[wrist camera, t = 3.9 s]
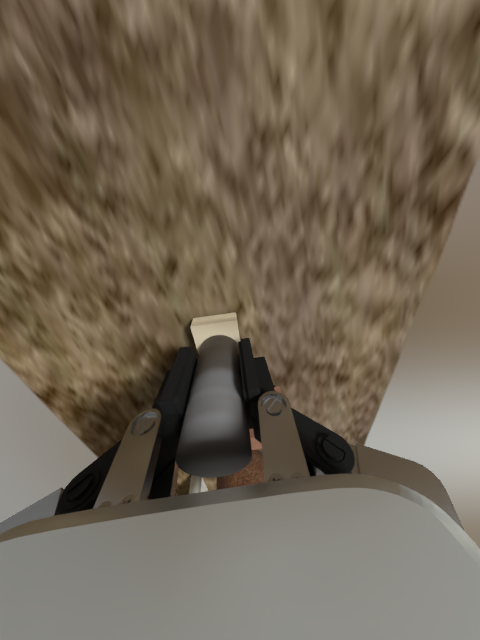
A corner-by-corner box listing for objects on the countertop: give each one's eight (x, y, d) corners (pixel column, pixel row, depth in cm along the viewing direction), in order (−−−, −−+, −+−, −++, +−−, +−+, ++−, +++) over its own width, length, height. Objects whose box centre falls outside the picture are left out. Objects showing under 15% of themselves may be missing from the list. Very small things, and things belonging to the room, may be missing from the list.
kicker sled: (150, 324, 12) (53, 442, 5) (278, 306, 12) (344, 400, 5) (186, 411, 16) (158, 537, 10) (279, 398, 17) (317, 512, 10)
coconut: (208, 440, 20) (199, 559, 12) (242, 419, 18) (253, 539, 11) (239, 456, 22) (246, 566, 14) (271, 438, 20) (296, 549, 13)
